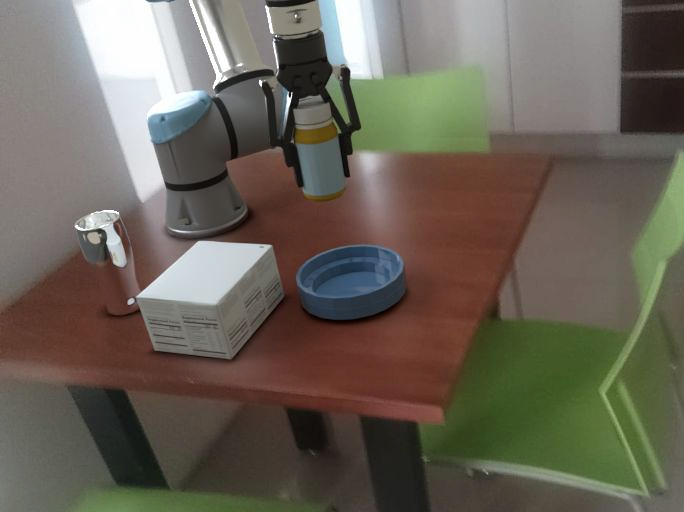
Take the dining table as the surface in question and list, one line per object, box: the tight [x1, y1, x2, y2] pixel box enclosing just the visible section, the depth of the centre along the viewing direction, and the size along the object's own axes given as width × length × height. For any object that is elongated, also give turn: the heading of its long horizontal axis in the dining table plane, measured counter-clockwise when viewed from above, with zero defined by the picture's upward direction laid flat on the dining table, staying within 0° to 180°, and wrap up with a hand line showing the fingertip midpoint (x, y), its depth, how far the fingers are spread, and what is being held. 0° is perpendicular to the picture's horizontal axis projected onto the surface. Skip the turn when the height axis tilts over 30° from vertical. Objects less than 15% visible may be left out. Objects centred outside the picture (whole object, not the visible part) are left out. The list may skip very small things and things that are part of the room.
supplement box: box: [136, 240, 285, 360], centre depth 115 cm, size 17×13×9 cm
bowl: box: [295, 244, 408, 321], centre depth 119 cm, size 16×16×4 cm
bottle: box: [292, 96, 347, 203], centre depth 124 cm, size 7×7×15 cm
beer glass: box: [73, 210, 143, 317], centre depth 121 cm, size 7×7×15 cm
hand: (322, 179), depth 127 cm, fingers closed on bottle, 7 cm apart
